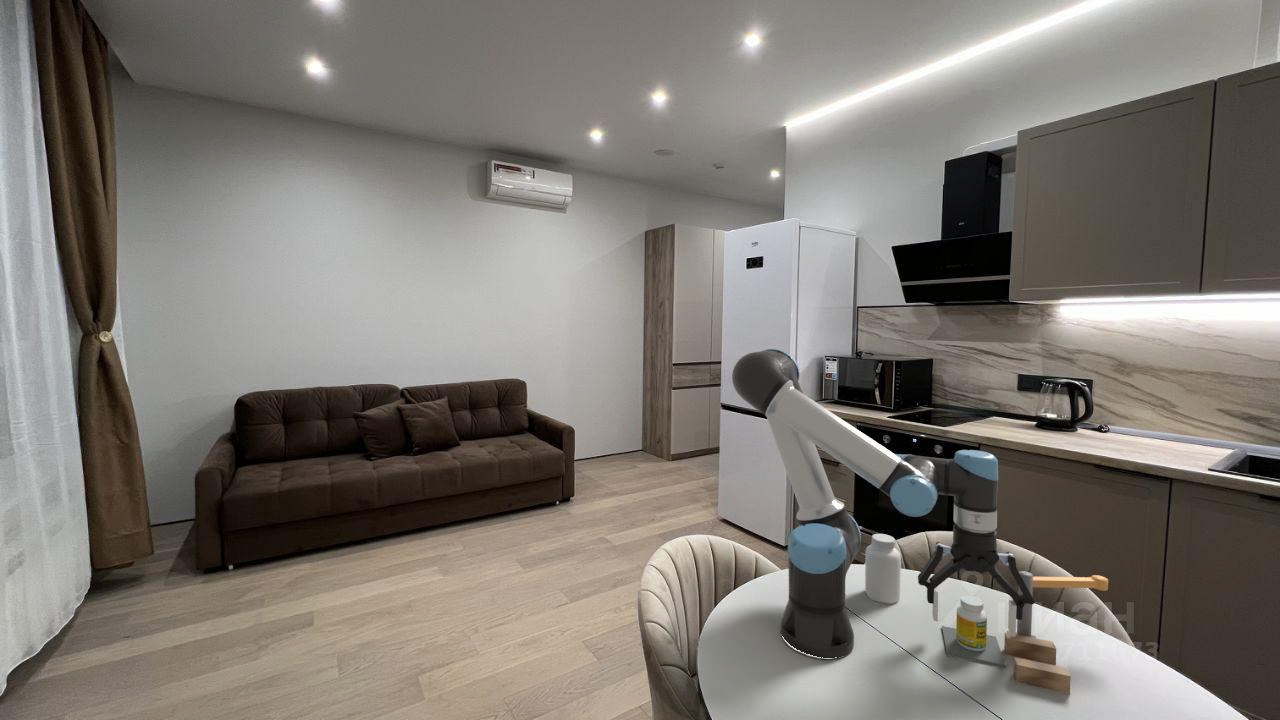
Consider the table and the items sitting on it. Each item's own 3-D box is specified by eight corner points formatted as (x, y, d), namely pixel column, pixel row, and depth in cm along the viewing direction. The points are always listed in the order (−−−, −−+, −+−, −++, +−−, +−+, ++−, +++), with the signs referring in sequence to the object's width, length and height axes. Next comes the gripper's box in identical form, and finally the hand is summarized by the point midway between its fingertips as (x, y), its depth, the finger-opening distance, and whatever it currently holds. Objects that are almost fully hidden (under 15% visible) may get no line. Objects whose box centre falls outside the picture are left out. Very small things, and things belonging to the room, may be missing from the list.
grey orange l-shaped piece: (1108, 644, 105) (1111, 578, 104) (1021, 642, 107) (1024, 576, 106) (1098, 636, 108) (1101, 571, 107) (1013, 634, 109) (1015, 570, 108)
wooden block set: (1016, 682, 97) (1017, 664, 97) (998, 632, 112) (998, 616, 112) (1070, 694, 93) (1070, 676, 93) (1043, 641, 109) (1044, 625, 108)
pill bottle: (901, 592, 129) (902, 535, 128) (898, 608, 122) (899, 547, 121) (867, 584, 133) (868, 528, 132) (862, 599, 127) (863, 540, 125)
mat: (946, 654, 105) (946, 652, 105) (941, 627, 114) (941, 625, 114) (1005, 667, 101) (1005, 665, 101) (995, 638, 110) (995, 636, 110)
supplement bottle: (963, 633, 111) (964, 590, 110) (991, 646, 107) (992, 601, 106) (951, 642, 108) (952, 598, 108) (979, 655, 104) (980, 610, 103)
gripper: (907, 524, 108) (906, 620, 109) (1055, 543, 97) (1051, 650, 98) (905, 511, 114) (904, 603, 116) (1044, 528, 104) (1041, 629, 105)
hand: (972, 625), depth 107 cm, fingers open, 13 cm apart
